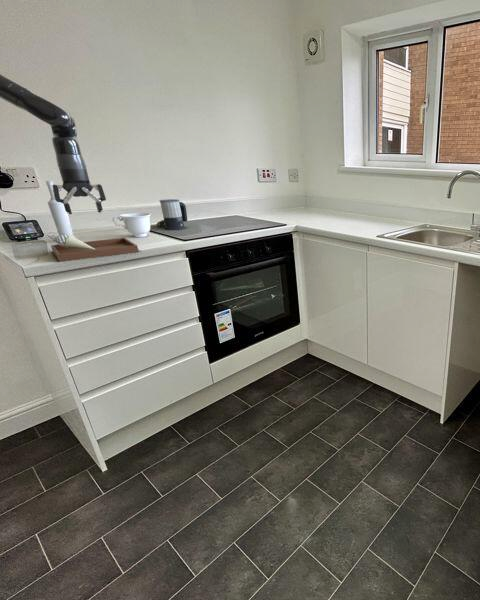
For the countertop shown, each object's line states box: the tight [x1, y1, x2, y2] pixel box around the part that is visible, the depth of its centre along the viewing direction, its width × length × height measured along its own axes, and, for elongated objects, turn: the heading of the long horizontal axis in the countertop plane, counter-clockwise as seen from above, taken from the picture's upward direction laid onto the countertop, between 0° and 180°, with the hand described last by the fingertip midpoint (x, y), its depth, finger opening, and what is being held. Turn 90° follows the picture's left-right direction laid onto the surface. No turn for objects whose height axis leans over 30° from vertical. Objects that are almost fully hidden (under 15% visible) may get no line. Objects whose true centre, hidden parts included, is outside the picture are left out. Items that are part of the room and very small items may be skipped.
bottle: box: [45, 180, 76, 238], centre depth 150 cm, size 5×5×25 cm
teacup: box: [112, 212, 152, 238], centre depth 165 cm, size 12×15×10 cm
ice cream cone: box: [45, 234, 95, 250], centre depth 135 cm, size 5×5×15 cm
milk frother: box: [156, 198, 188, 231], centre depth 188 cm, size 14×16×15 cm
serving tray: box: [50, 237, 140, 262], centre depth 138 cm, size 24×20×3 cm
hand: (85, 213), depth 133 cm, fingers open, 8 cm apart
